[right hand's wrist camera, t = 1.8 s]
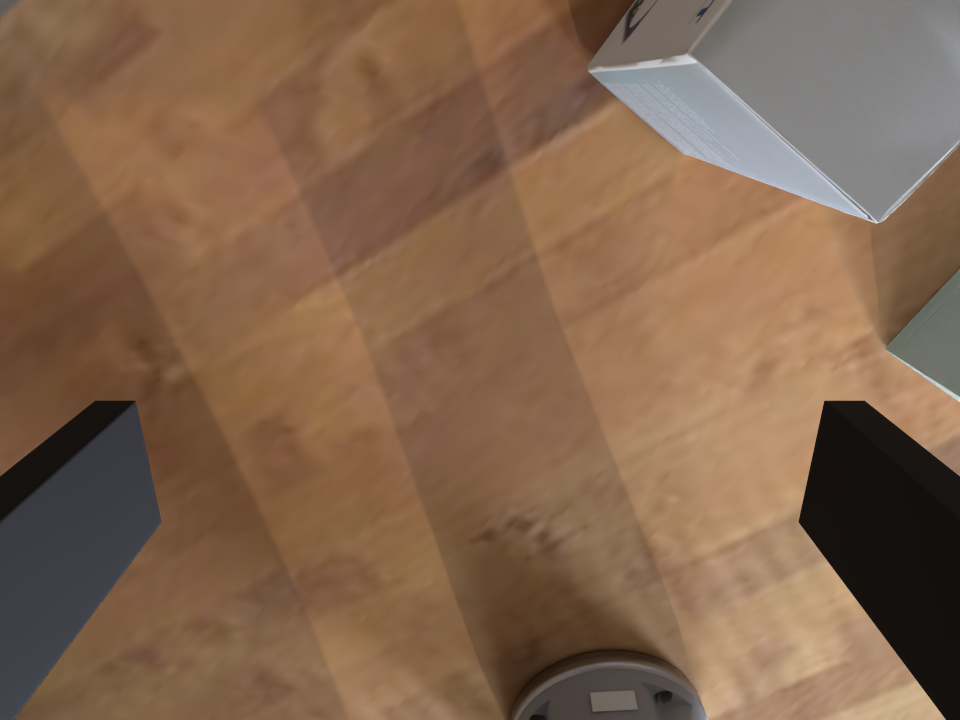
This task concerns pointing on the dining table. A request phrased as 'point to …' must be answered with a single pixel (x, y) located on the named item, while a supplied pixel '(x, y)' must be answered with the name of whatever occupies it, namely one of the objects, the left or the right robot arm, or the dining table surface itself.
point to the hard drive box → (797, 90)
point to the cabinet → (934, 339)
